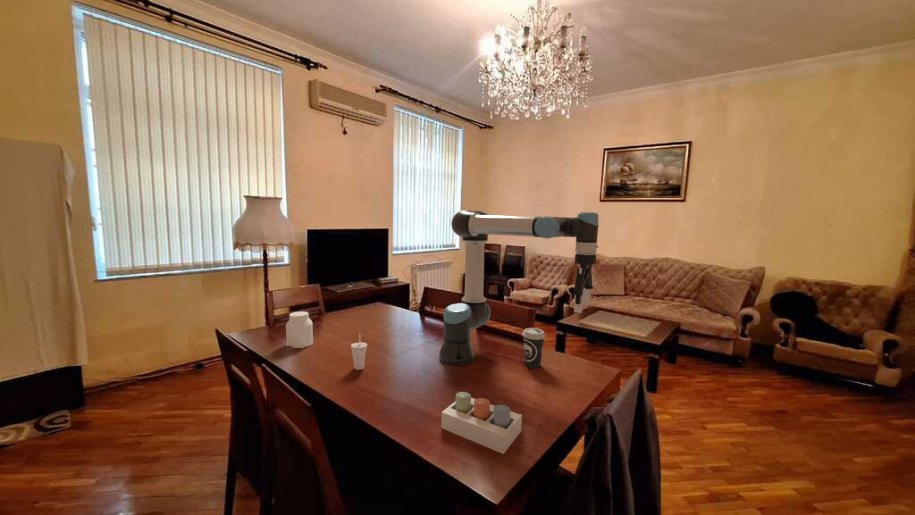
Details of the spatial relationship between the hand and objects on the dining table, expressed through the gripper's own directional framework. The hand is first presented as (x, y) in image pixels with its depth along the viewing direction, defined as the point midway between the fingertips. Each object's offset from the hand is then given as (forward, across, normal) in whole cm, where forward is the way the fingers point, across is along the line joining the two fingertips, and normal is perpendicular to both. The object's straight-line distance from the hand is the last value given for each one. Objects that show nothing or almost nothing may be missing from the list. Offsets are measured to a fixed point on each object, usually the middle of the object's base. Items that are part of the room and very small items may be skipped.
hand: (582, 308), depth 133 cm
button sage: (+25, -51, +22) cm, 61 cm away
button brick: (+25, -51, +15) cm, 59 cm away
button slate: (+25, -51, +9) cm, 58 cm away
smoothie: (+28, -42, +76) cm, 92 cm away
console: (+28, -51, +15) cm, 60 cm away
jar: (+28, -41, +119) cm, 129 cm away
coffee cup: (+28, +1, +19) cm, 34 cm away
